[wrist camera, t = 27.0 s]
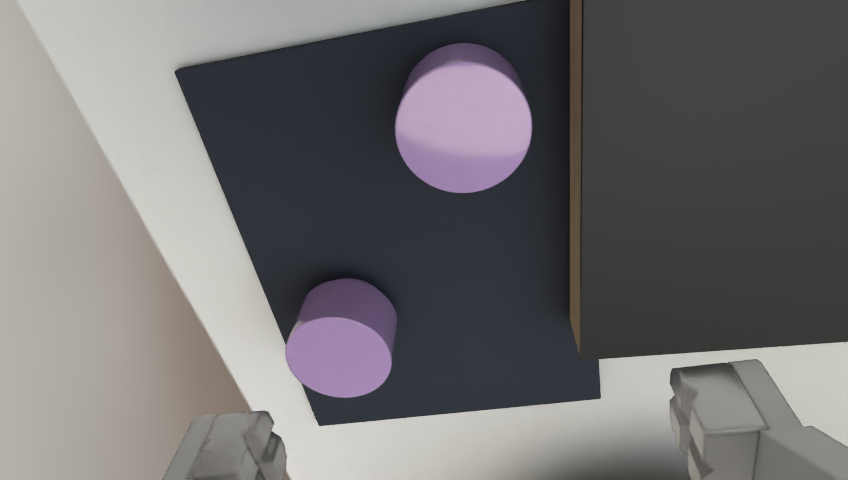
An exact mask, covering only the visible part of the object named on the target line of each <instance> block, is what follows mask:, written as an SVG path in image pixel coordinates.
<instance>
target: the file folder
mask: <svg viewBox="0 0 848 480" xmlns="http://www.w3.org/2000/svg"><path fill="white" fill-rule="evenodd" d="M568 239H569V322H571V327H573V332H574V336H575V342H576V344H577V348H578V350H579V355H580V360H591V359H606V358H620V357H634V356H649V355H663V354H677V353H692V352H706V351H720V350H735V349H749V348H763V347H778V346H792V345H806V344H821V343H835V342H848V0H568Z"/></svg>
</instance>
